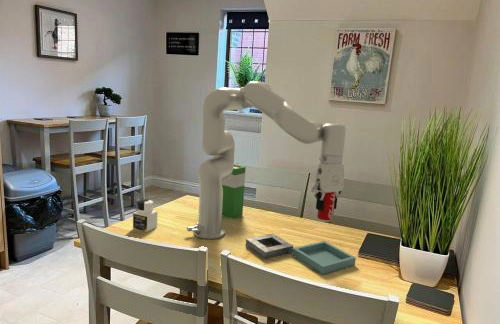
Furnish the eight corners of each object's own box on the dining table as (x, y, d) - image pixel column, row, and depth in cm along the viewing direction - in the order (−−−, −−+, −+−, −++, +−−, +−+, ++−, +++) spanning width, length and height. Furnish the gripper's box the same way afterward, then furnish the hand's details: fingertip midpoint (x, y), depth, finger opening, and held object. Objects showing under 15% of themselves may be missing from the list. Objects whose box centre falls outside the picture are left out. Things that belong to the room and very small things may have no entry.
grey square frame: (264, 259, 130) (265, 252, 129) (245, 245, 140) (246, 238, 140) (292, 253, 137) (293, 245, 136) (272, 240, 147) (273, 233, 147)
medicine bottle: (132, 229, 149) (132, 201, 147) (143, 223, 156) (144, 197, 153) (146, 232, 147) (147, 204, 144) (157, 227, 153) (158, 199, 151)
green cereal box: (205, 209, 179) (207, 162, 174) (215, 206, 185) (217, 160, 180) (232, 219, 169) (235, 169, 164) (242, 215, 175) (245, 166, 170)
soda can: (329, 223, 126) (333, 189, 123) (314, 219, 128) (318, 186, 126) (334, 218, 130) (338, 186, 128) (320, 215, 133) (323, 183, 131)
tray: (322, 275, 121) (323, 266, 121) (292, 255, 134) (292, 248, 134) (354, 265, 130) (355, 257, 129) (323, 248, 143) (324, 240, 142)
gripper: (320, 162, 118) (315, 215, 121) (356, 160, 127) (350, 209, 130) (305, 158, 124) (300, 208, 127) (340, 156, 133) (335, 203, 136)
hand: (326, 208), depth 129 cm, fingers closed on soda can, 5 cm apart
